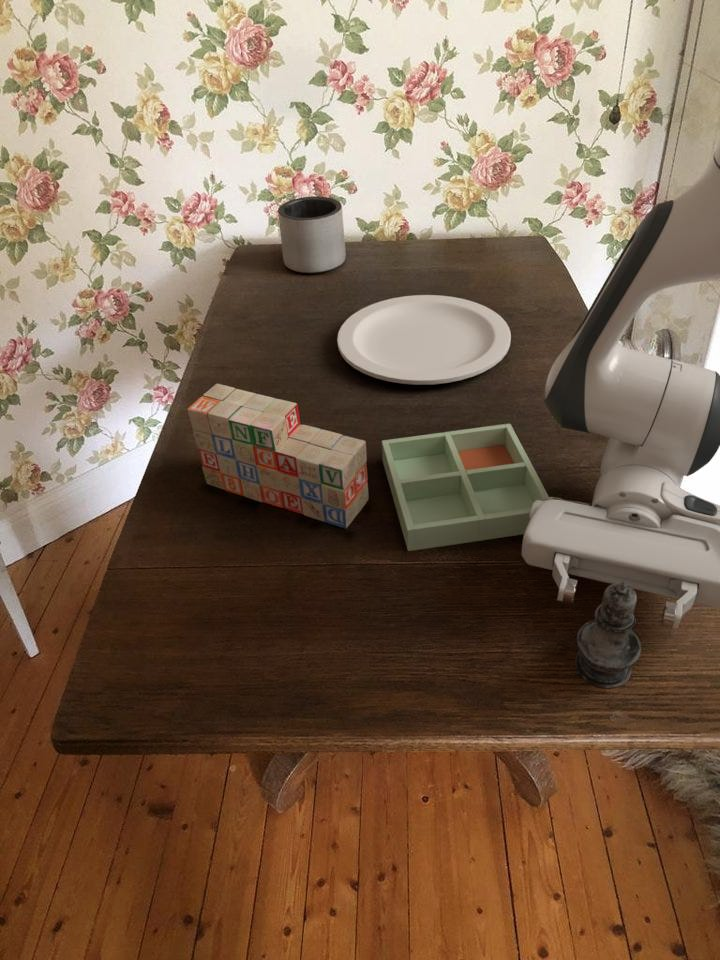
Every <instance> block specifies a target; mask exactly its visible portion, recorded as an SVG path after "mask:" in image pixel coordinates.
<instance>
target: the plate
mask: <svg viewBox="0 0 720 960" xmlns="http://www.w3.org/2000/svg"><path fill="white" fill-rule="evenodd" d="M511 340H512V335H511V329H510V327H509V325H508V323H507V322H506V320H505V319H504V318H503V317H502V316H501V315H500V314H498V313H497V312H496V311H495V310H493V309H491V308H489V307H487V306H485V305H483V304H480V303H478V302H475V301H473V300H469V299H465V298H461V297H455V296H448V295H437V294H416V295H415V294H414V295H406V296H404V295H403V296H399V297H392V298H388V299H384V300H381V301H377V302H375V303H372V304H369V305H367V306H365V307H362V308H361V309H359V310H358V311H356V312H354V313H353V314H351V315H350V316H349V317H348V318H347V319H346V320H344V322H343V324H342V325H341V326H340V328H339V330H338V333H337V338H336V342H337V348H338V351H339V354H340V355H341V357H342V358H343V359H344V361H345V362H346V363H347V364H348V365H349V366H350V367H352V368H353V369H355V370H357V371H358V372H360V373H362V374H364V375H366V376H369V377H372V378H375V379H378V380H381V381H385V382H390V383H395V384H396V383H397V384H402V385H415V386H416V385H417V386H418V385H419V386H421V385H440V384H448V383H453V382H458V381H463V380H466V379H469V378H472V377H475V376H478V375H480V374H482V373H484V372H486V371H488V370H490V369H492V368H493V367H495V366H496V365H497V364H499V363H500V362H501V361H502V360H503V359H504V357H505V356H507V354H508V352H509V349H510V347H511V342H512V341H511Z"/></svg>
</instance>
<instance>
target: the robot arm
mask: <svg viewBox="0 0 720 960" xmlns="http://www.w3.org/2000/svg"><path fill="white" fill-rule="evenodd" d="M718 281H719V282H720V139H718V142H717V145H716V147H715V150H714V151H713V154H712V156H711V158H710V160H709V163H708V164H707V166H706V168H705V169H704V170H703V172H702V173H701V175H700V176H699V177H698V179H697V180H696V181H695V182H693V184H691V186H690V187H689V188H688V189H686V190H685V191H684V192H682V194H680V195H678V196H677V197H676V198H674V199H669V200H666V201H663V202H659V203H657V204H655V205H654V206H653V207H652V208H651V209H650V210H649V212H648V213H647V214H646V215H645V216H644V218H643V219H642V220H641V221H640V223H639V225H637V227H636V229H635V230H634V232H633V234H632V235H631V237H630V239H629V240H628V241H627V244H626V245H625V247H624V248H623V250H622V251H621V253H620V255H619V256H618V258H617V260H616V262H615V263H614V265H613V267H612V269H611V271H610V272H609V274H608V276H607V277H606V279H605V281H604V283H603V285H602V286H601V287H600V290H599V291H598V293H597V295H596V296H595V299H594V300H593V302H592V304H591V306H590V307H589V309H588V311H587V312H586V314H585V316H584V318H583V319H582V321H581V322H580V324H579V326H578V328H577V330H576V331H575V333H574V334H573V335H572V337H571V339H570V340H569V342H568V344H567V345H566V346H564V348H563V349H562V351H561V352H560V353H559V354H558V356H557V357H556V359H555V360H554V362H553V364H552V366H551V368H550V370H549V372H548V374H547V378H546V381H545V387H544V400H543V401H544V404H545V406H546V409H547V410H548V411H549V414H551V417H553V419H554V420H555V422H556V423H557V424H558V426H560V428H563V429H568V430H573V431H577V432H582V433H587V434H591V433H592V434H595V435H599V436H602V437H606V438H608V441H607V444H606V446H605V449H604V453H603V455H602V459H601V463H600V477H599V478H598V479H597V481H596V484H595V488H594V492H593V497H592V500H591V503H588V502H587V503H586V502H582V501H576V500H567V499H562V498H561V497H556V496H549V499H541V500H536V501H535V502H534V503H533V505H532V506H531V510H530V513H529V518H530V522H529V524H528V526H527V528H526V531H525V533H524V534H523V538H522V544H521V557H522V558H523V560H524V562H525V563H526V564H527V565H529V566H532V567H537V568H541V569H546V570H549V571H550V570H551V571H552V572H551V573H552V574H551V576H552V579H553V580H554V582H555V584H556V586H557V588H558V594H557V599H556V600H557V601H558V602H564V603H567V604H571V605H572V604H574V601H575V600H574V599H575V597H576V591H577V586H578V579H574V578H570V576H569V575H571V576H576V577H581V578H585V579H589V580H593V581H597V582H602V583H606V584H610V585H612V584H615V583H622V582H624V583H626V585H628V586H630V587H631V588H632V589H633V590H636V591H637V590H638V591H641V592H644V593H645V592H646V593H649V594H655V595H659V596H663V597H667V598H671V599H676V601H675V602H674V601H668V600H665V603H664V606H663V607H664V608H663V610H662V613H661V621H660V625H661V626H662V627H667V628H670V629H674V630H679V627H680V625H681V621H682V616H684V615H685V614H686V613H687V612H689V611H690V610H691V609H692V608H693V606H694V604H698V605H702V606H706V607H709V608H710V607H711V608H714V609H720V505H719V504H717V503H714V502H712V501H709V500H707V499H704V498H702V497H699V496H697V495H695V494H692V493H691V492H689V491H687V490H686V489H683V488H681V486H682V483H683V480H684V477H689V476H692V475H693V474H695V473H696V472H698V471H699V470H701V469H702V468H704V467H706V465H708V464H709V463H710V462H711V461H712V459H713V458H714V457H715V455H716V454H717V452H718V450H719V448H720V373H718V371H717V370H716V371H715V370H711V369H710V368H706V367H702V366H698V365H695V364H692V363H689V362H688V363H687V362H684V361H681V360H678V359H673V358H666V357H663V356H660V355H655V354H652V353H648V352H646V351H645V352H644V351H641V350H637V349H635V348H629V347H626V346H624V345H622V344H621V343H619V341H621V338H622V337H623V335H624V334H625V332H626V331H627V330H628V327H629V326H630V324H631V323H632V321H633V320H634V318H635V316H636V314H637V313H638V312H639V310H640V309H641V307H642V306H643V304H644V303H645V302H646V300H647V299H649V298H650V297H651V296H653V295H654V294H656V293H658V292H660V291H663V290H665V289H669V288H673V287H677V286H683V285H688V284H695V283H702V282H703V283H704V282H718Z"/></svg>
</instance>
